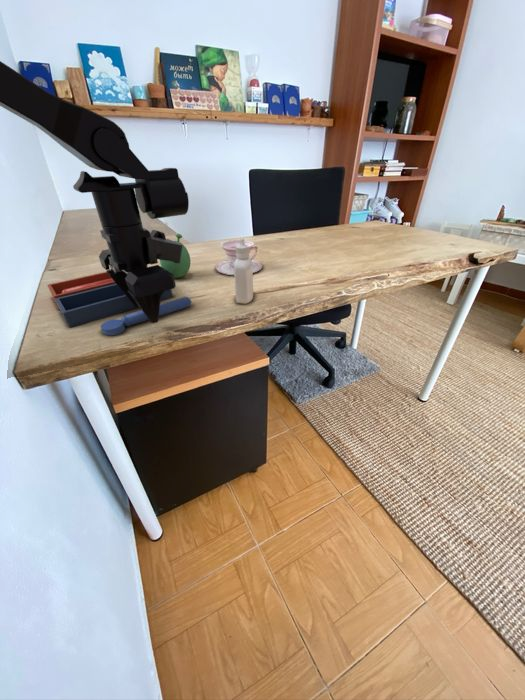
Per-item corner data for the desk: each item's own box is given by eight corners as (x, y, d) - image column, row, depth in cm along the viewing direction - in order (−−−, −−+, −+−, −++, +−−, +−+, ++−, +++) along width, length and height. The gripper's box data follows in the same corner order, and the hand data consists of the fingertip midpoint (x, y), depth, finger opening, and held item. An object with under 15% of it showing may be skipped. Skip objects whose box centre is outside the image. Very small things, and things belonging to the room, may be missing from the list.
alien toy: (182, 269, 76) (175, 228, 70) (198, 277, 71) (192, 234, 66) (157, 276, 72) (147, 233, 67) (172, 284, 68) (163, 240, 62)
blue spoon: (187, 302, 60) (185, 293, 59) (195, 308, 58) (194, 298, 56) (100, 329, 51) (96, 319, 50) (106, 337, 49) (102, 327, 48)
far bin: (59, 310, 58) (53, 296, 56) (52, 297, 63) (47, 284, 61) (155, 284, 68) (152, 272, 66) (143, 275, 73) (140, 264, 71)
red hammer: (65, 302, 60) (61, 293, 58) (61, 296, 62) (58, 288, 61) (146, 281, 68) (144, 273, 67) (140, 277, 70) (138, 269, 69)
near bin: (69, 327, 52) (62, 313, 50) (61, 312, 57) (54, 298, 55) (172, 297, 62) (170, 284, 60) (158, 286, 67) (155, 274, 65)
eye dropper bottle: (261, 296, 62) (260, 237, 55) (243, 306, 58) (240, 244, 51) (245, 291, 64) (243, 234, 57) (227, 300, 60) (222, 240, 53)
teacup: (212, 276, 72) (209, 250, 68) (219, 260, 82) (217, 237, 78) (261, 276, 71) (260, 250, 68) (262, 260, 81) (262, 237, 78)
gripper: (199, 225, 43) (210, 319, 52) (149, 209, 55) (166, 287, 64) (121, 238, 37) (149, 341, 46) (85, 217, 49) (113, 302, 58)
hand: (146, 314), depth 54 cm, fingers open, 7 cm apart
